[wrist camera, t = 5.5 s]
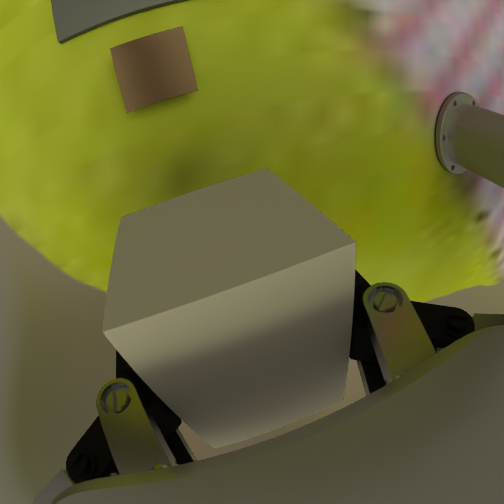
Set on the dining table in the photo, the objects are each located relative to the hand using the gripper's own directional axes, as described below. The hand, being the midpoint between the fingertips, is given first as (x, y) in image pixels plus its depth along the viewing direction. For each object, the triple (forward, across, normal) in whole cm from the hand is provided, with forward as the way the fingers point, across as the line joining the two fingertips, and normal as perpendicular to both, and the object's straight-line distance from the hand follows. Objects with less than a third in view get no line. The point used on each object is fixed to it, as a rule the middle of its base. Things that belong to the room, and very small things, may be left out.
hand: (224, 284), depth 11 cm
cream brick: (+1, 0, 0) cm, 1 cm away
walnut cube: (+17, 0, -9) cm, 19 cm away
